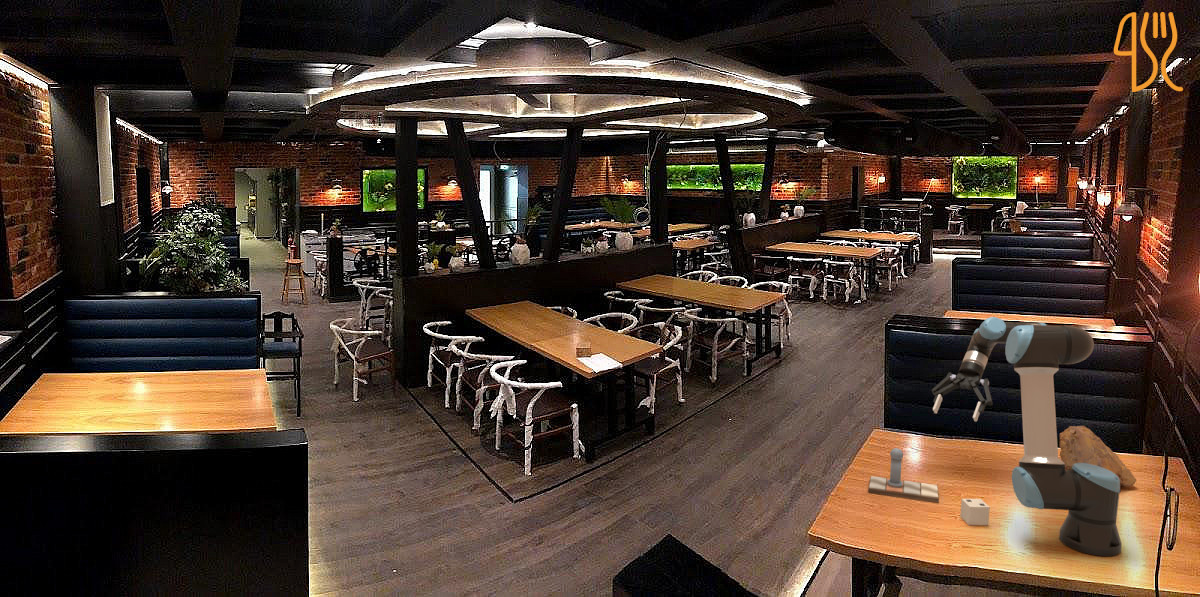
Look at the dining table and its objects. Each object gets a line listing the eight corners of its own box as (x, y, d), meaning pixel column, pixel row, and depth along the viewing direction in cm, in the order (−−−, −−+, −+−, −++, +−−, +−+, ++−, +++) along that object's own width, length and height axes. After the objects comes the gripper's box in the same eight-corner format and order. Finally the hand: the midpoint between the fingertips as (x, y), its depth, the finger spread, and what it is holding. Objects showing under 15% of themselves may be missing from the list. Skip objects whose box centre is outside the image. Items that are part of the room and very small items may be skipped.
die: (988, 525, 226) (989, 506, 225) (968, 525, 226) (969, 506, 225) (979, 516, 232) (980, 498, 231) (960, 516, 232) (961, 498, 231)
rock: (1037, 443, 276) (1061, 412, 270) (1074, 456, 280) (1099, 426, 275) (1090, 496, 250) (1118, 463, 244) (1129, 509, 254) (1158, 477, 248)
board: (938, 502, 242) (938, 498, 242) (868, 492, 251) (868, 488, 251) (937, 489, 253) (937, 484, 253) (870, 479, 262) (870, 475, 261)
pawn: (902, 488, 250) (904, 451, 248) (887, 486, 251) (889, 449, 249) (902, 483, 254) (904, 447, 252) (887, 481, 256) (889, 445, 254)
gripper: (1012, 377, 257) (994, 428, 249) (940, 366, 275) (921, 413, 267) (1008, 365, 253) (989, 417, 245) (935, 355, 271) (916, 402, 263)
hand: (954, 415), depth 256 cm, fingers open, 13 cm apart
